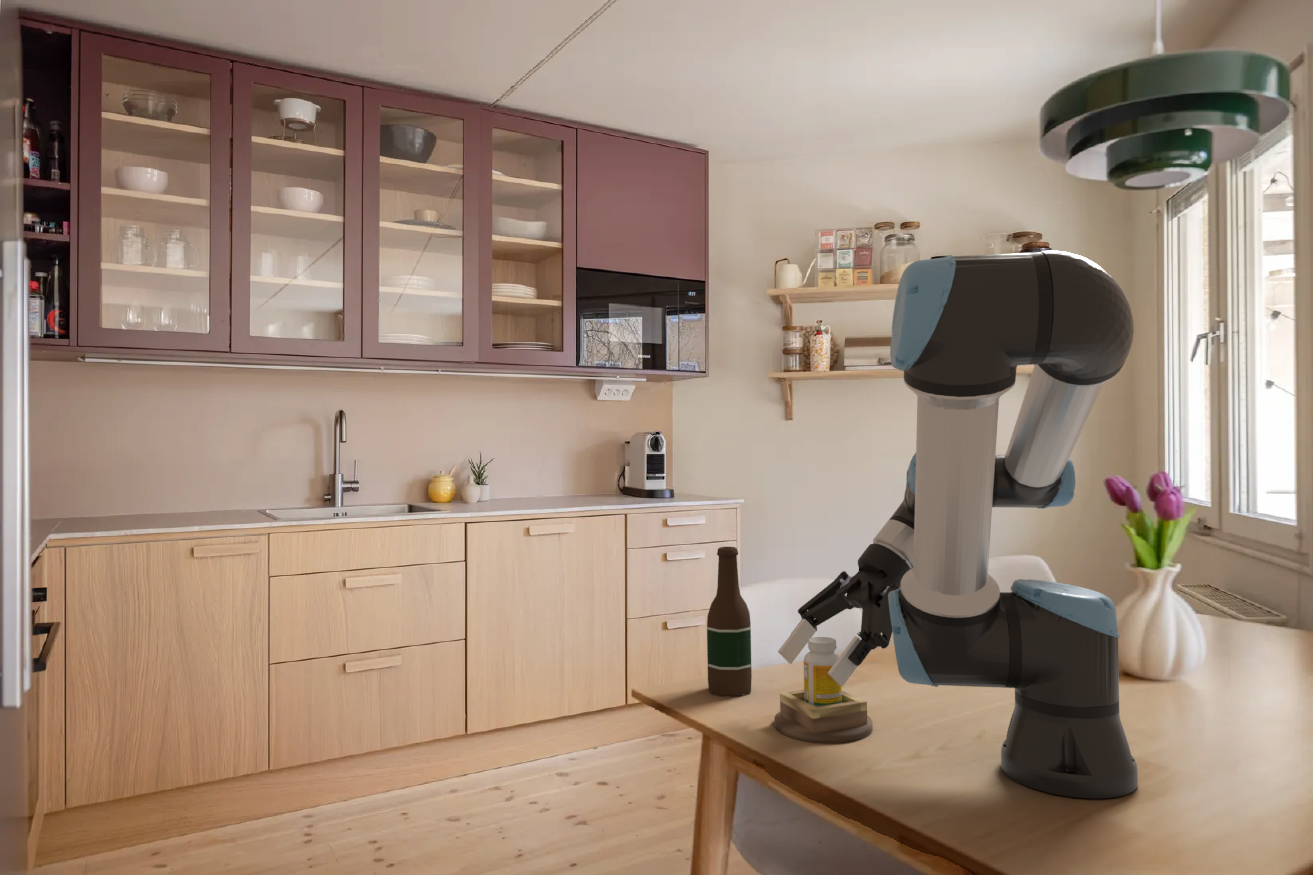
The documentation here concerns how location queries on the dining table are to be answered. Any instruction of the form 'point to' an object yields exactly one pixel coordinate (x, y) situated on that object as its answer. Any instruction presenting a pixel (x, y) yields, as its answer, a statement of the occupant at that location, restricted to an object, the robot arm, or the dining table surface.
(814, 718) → the square wooden tray
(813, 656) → the supplement bottle
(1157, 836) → the dining table surface
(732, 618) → the beer bottle
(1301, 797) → the dining table surface
